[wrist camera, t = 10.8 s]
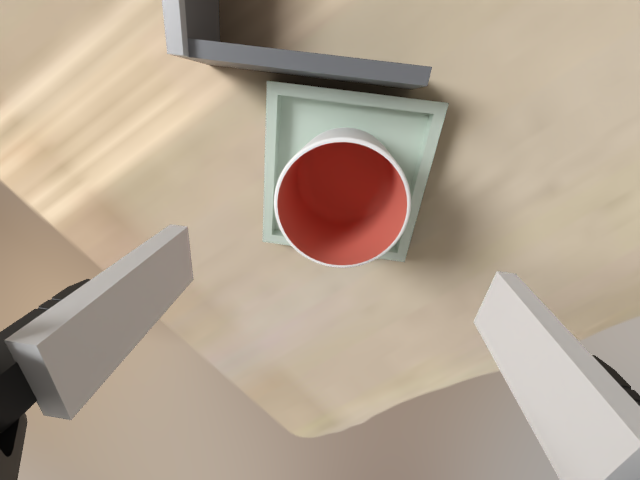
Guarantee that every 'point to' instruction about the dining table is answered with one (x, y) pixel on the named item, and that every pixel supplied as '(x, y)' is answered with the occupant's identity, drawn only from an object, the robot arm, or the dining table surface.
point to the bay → (272, 52)
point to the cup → (342, 199)
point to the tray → (354, 112)
